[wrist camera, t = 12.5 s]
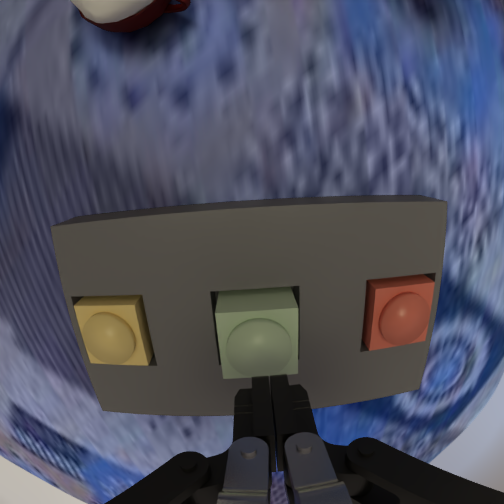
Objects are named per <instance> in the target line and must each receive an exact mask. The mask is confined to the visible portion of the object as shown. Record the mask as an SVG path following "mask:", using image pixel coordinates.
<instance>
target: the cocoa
mask: <svg viewBox="0 0 504 504" xmlns="http://www.w3.org/2000/svg"><path fill="white" fill-rule="evenodd" d="M70 1H71V2H72V3H73V4H74V5H75V6H76V7H77V8H78V10H79V12H80V14H81V16H82V18H84V19H85V20H87V21H88V22H90V23H92V24H94V25H96V26H97V27H99V28H101V29H103V30H106V31H110V32H132V31H135V30H138V29H140V28H143V27H146V26H148V25H149V24H151V23H152V22H153V21H154V20H156V19H157V18H158V17H160V16H161V15H162V14H163V13H173V12H181V11H184V10H186V9H187V8H188V6H189V5H190V3H191V2H190V0H176V1H178V2H180V3H181V4H175V5H172V4H169V3H170V2H171V0H70Z"/></svg>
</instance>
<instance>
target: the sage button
mask: <svg viewBox="0 0 504 504" xmlns="http://www.w3.org/2000/svg"><path fill="white" fill-rule="evenodd" d="M215 317H216V325H217V334H218V342H219V350H220V357H221V365H222V373H223V379H233V378H252V377H254V376H270V375H280V374H287V375H290V374H298V306H297V303H296V300H295V298H294V295H293V292H292V290H291V287H290V286H288V287H275V288H260V289H245V290H229V291H219V294H218V299H217V305H216V311H215Z"/></svg>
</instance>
